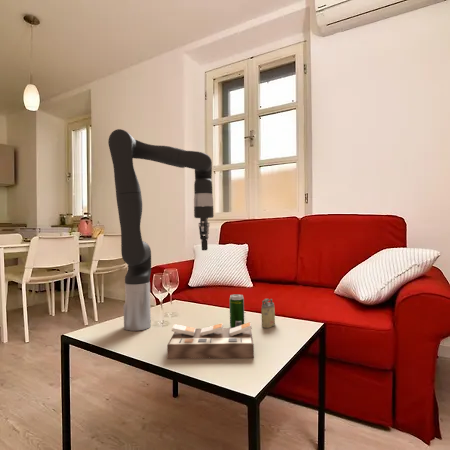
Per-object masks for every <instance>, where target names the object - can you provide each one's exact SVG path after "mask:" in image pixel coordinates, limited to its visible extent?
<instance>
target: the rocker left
mask: <svg viewBox="0 0 450 450" xmlns="http://www.w3.org/2000/svg"><path fill="white" fill-rule="evenodd" d="M196 329H197V328H196V327H191V326H185V325H181V324H176V323H174V324H173V326H172V328H171V332H173V333H174V332H178V333H183V334H187V335H192V336H194V333H195V330H196Z"/></svg>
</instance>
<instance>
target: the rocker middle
mask: <svg viewBox="0 0 450 450" xmlns="http://www.w3.org/2000/svg"><path fill="white" fill-rule="evenodd" d="M223 328H224V323H223V322H221V323H217V324H213V325H211V326H206V327H201V328H200V329H201V336H203V335H207V334H211V333H215V332H219V331H223Z"/></svg>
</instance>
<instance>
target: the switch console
mask: <svg viewBox="0 0 450 450" xmlns="http://www.w3.org/2000/svg"><path fill="white" fill-rule="evenodd" d="M201 329H202V328H196V330H195V333H194V336H192V335H187V334H183V333H178V332H173V334H172V335H171V338H170V339H169V341H168V343H167V346H166V347H167V348H166V349H167V354H166V355H167V360H172V359H173V360H174V359H175V360H177V359H179V360H180V359H181V360H183V359H186V360H187V359H255V354H254V349H255V348H254V340H253V339H254V337H253V333H252V329H251V330H248V331H245V332H242V333H239V334H236V335H233V336H230V329H231V327H223V331H219V332H215V333H211V334H207V335H203V336H201Z"/></svg>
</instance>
